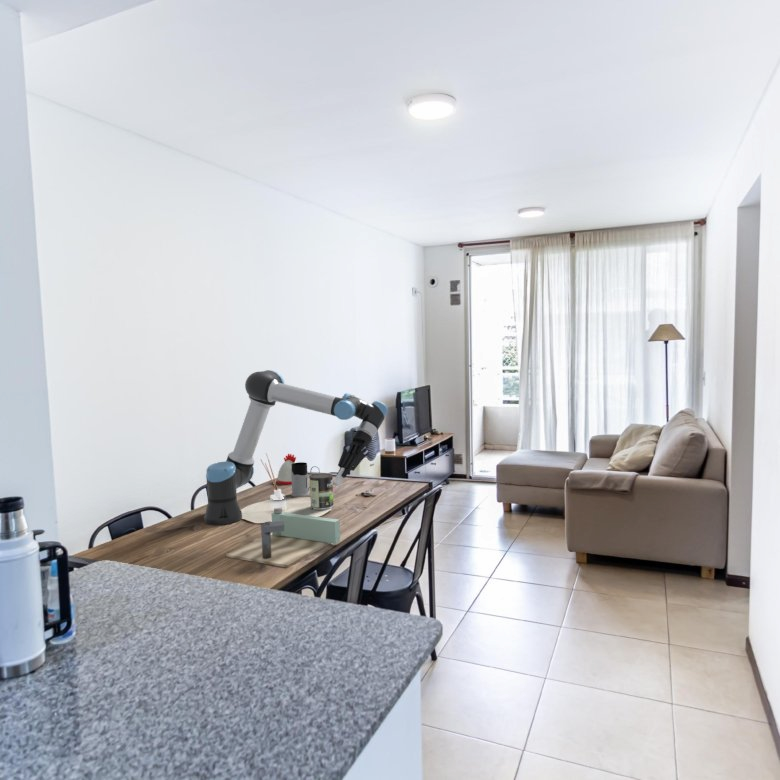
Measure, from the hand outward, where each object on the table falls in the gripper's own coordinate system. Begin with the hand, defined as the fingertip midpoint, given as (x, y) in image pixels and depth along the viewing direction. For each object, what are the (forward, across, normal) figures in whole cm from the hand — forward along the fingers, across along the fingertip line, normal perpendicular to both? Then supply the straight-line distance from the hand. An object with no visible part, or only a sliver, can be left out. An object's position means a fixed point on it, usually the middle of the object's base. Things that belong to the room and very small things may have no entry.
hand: (336, 483), depth 224 cm
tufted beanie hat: (-16, +81, -40) cm, 92 cm away
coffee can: (+1, +29, -24) cm, 38 cm away
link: (+24, -1, +1) cm, 24 cm away
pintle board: (+32, -1, +8) cm, 33 cm away
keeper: (+38, -8, +13) cm, 41 cm away
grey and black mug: (-7, +52, -31) cm, 61 cm away
